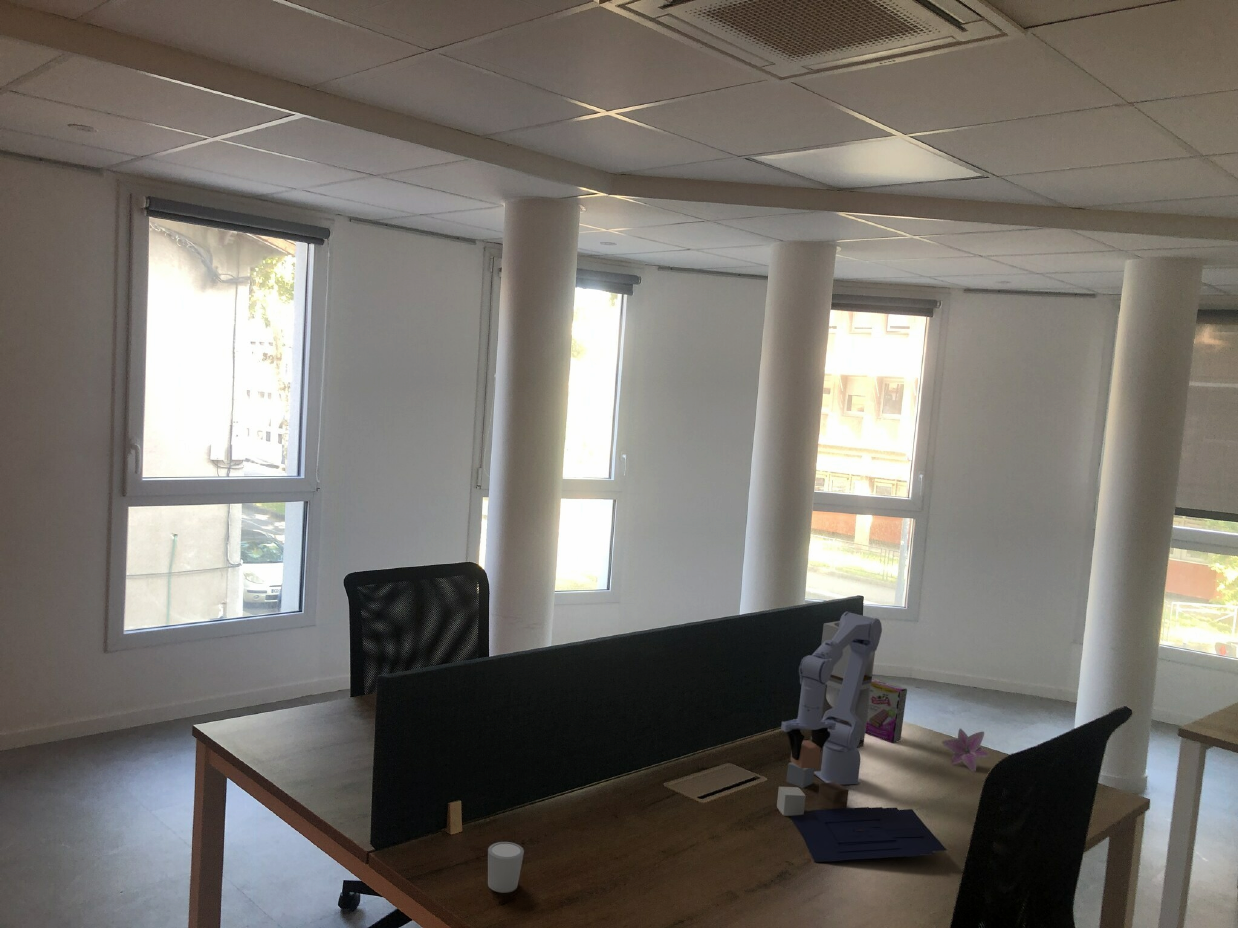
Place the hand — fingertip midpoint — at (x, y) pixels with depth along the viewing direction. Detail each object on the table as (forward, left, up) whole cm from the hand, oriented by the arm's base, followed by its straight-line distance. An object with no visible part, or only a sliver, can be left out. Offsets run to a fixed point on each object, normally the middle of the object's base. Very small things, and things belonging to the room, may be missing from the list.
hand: (804, 757), depth 237 cm
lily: (-63, -15, -11) cm, 66 cm away
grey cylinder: (+82, +29, -11) cm, 88 cm away
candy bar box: (-50, -38, -11) cm, 64 cm away
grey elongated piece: (-32, -34, -11) cm, 48 cm away
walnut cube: (-6, +5, -10) cm, 13 cm away
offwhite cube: (+7, +7, -10) cm, 14 cm away
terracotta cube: (0, 0, -2) cm, 2 cm away
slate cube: (-5, -9, -10) cm, 15 cm away
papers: (-3, +23, -11) cm, 25 cm away
